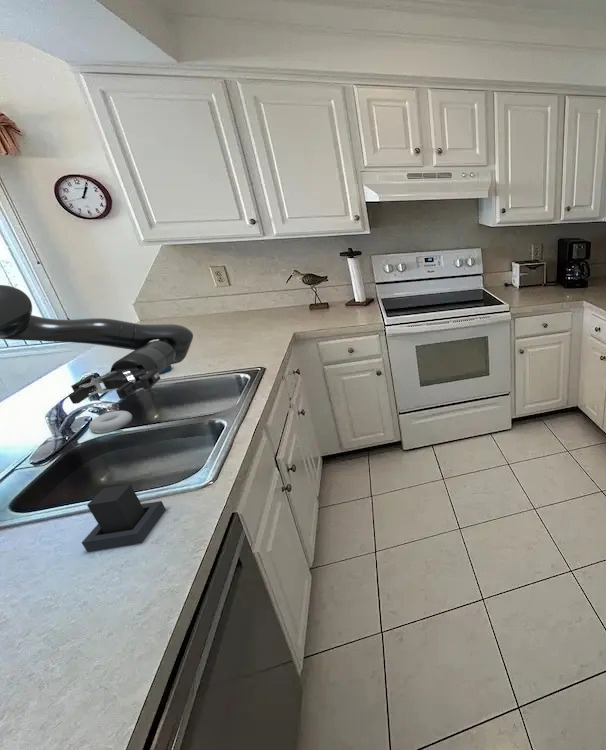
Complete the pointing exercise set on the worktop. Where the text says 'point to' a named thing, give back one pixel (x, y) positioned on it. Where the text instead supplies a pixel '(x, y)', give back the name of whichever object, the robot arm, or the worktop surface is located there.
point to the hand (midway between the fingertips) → (96, 397)
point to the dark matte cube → (116, 509)
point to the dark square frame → (129, 537)
